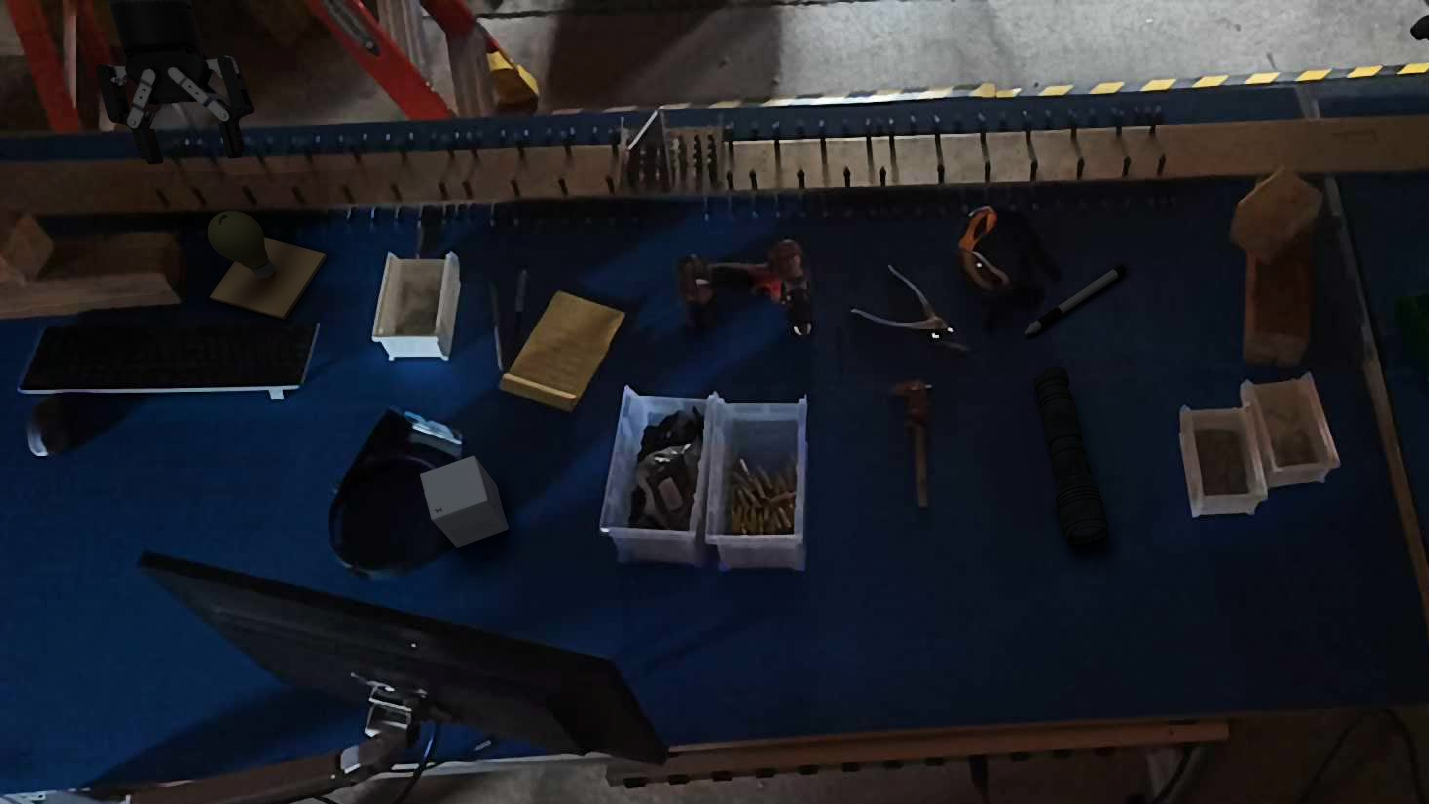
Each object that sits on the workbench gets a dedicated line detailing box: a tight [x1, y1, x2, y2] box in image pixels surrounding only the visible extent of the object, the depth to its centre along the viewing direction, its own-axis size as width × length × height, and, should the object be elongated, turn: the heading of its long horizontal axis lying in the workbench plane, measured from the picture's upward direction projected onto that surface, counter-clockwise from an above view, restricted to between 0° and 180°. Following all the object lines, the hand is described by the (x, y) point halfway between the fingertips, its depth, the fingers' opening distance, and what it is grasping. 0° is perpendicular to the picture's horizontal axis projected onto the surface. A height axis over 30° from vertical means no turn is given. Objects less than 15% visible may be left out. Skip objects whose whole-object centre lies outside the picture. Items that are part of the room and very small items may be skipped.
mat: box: [209, 236, 328, 321], centre depth 139 cm, size 10×10×1 cm
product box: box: [419, 455, 510, 548], centre depth 122 cm, size 6×6×7 cm
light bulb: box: [207, 210, 275, 278], centre depth 134 cm, size 6×6×10 cm
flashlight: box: [1032, 365, 1109, 546], centre depth 127 cm, size 5×21×5 cm, turn 9°
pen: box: [1023, 264, 1127, 336], centre depth 138 cm, size 1×16×1 cm, turn 128°
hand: (195, 161), depth 126 cm, fingers open, 8 cm apart
